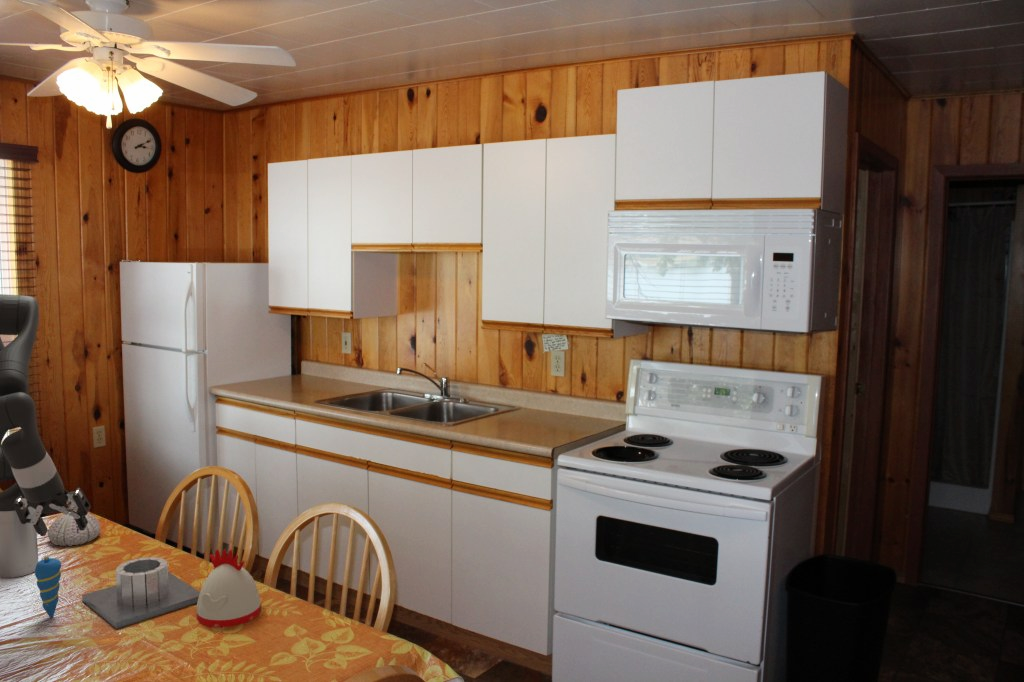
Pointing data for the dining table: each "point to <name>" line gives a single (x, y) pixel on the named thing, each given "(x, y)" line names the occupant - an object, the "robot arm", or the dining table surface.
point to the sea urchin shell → (73, 531)
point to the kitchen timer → (227, 594)
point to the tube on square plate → (141, 593)
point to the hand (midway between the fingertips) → (64, 530)
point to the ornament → (48, 582)
